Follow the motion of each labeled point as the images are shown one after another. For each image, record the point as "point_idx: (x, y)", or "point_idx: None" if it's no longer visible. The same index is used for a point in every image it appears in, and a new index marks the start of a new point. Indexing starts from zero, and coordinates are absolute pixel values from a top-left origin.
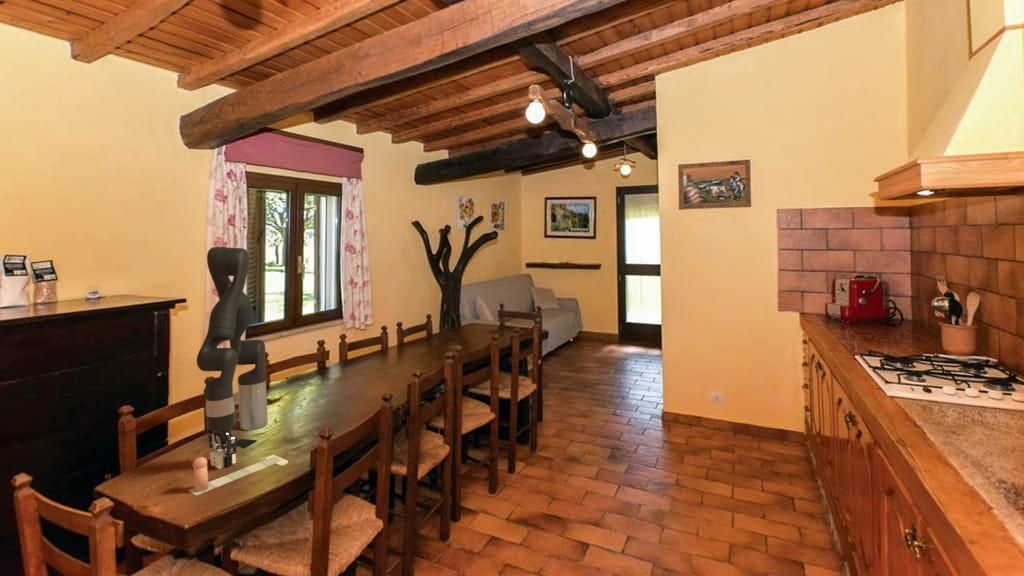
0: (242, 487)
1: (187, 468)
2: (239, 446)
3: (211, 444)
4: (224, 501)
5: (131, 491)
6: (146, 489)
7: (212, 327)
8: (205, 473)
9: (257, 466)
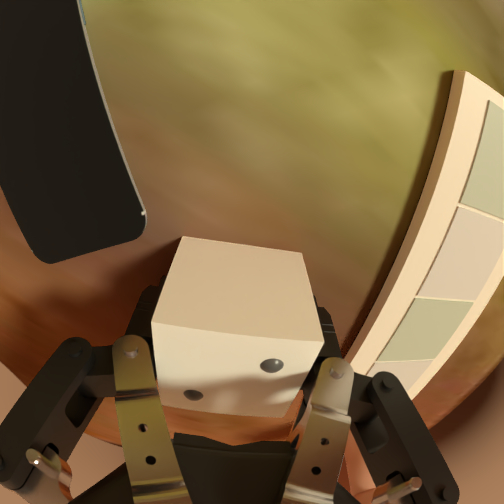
0: (468, 347)
1: None
2: (28, 61)
3: (95, 407)
4: (451, 391)
5: None
6: (170, 435)
7: None
8: None
9: (473, 248)
